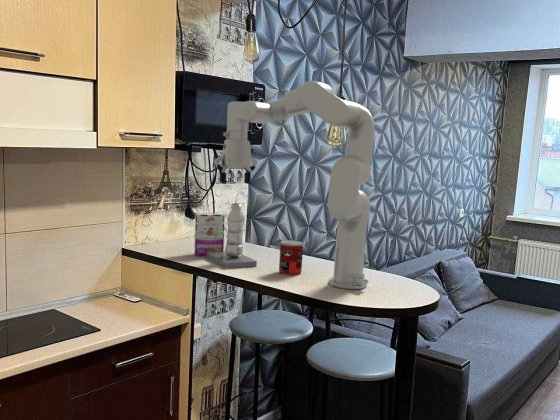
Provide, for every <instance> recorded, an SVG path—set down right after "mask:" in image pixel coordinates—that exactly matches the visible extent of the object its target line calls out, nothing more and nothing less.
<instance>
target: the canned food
mask: <svg viewBox="0 0 560 420" xmlns="http://www.w3.org/2000/svg"><path fill="white" fill-rule="evenodd" d="M279 244H280V245H279V247H280V248H279V260H278V261H279V265H278V266H279V267H278V272H279V274H281V275H286V276H299V275H301V274H302V270H303V269H302V268H303V255H304V253H303V252H304V243H303V242H302V241H300V240H299V241H298V240H291V239H290V240H288V239H286V240H281V241H280V243H279Z"/></svg>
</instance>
